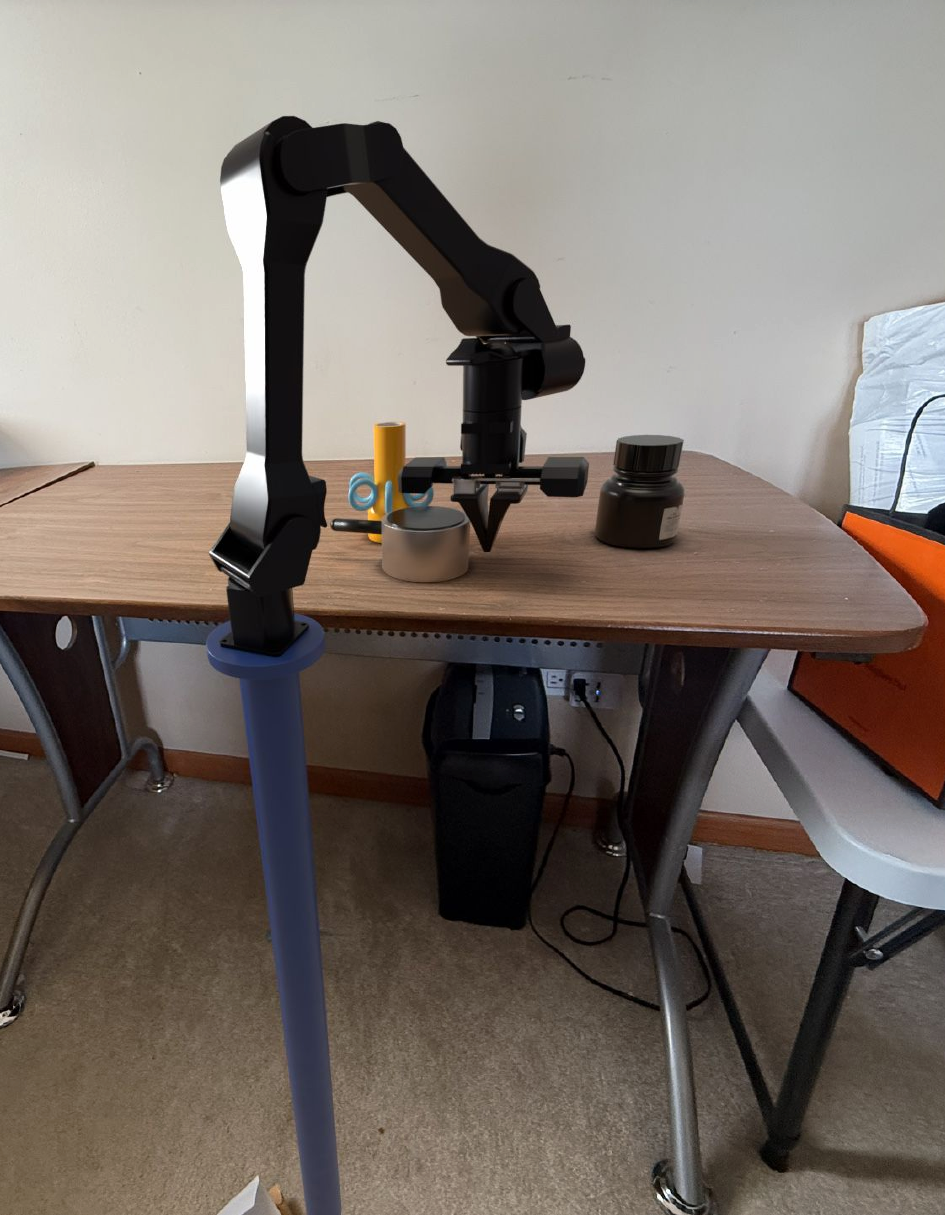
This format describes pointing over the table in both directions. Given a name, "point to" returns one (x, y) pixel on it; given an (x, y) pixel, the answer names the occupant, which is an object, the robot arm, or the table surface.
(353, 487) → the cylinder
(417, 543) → the pot
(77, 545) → the table surface
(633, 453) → the ink bottle
